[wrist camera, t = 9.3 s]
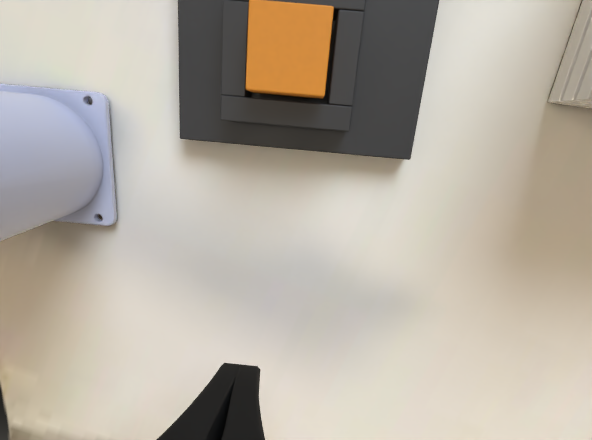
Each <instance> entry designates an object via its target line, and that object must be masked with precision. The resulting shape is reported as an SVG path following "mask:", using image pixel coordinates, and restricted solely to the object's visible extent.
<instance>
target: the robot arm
mask: <svg viewBox="0 0 592 440" xmlns="http://www.w3.org/2000/svg"><path fill="white" fill-rule="evenodd" d="M89 97H91V98H92V101H93V102H92V104H91V105H90V104H89V103H88V98H89ZM98 214H100V215H101V216H102V220H101V219H99V217H98ZM51 221H61V222H72V223H82V224H93V225H103V226H110V225H112V224H114V223H115V222H116V221H117V211H116V197H115V183H114V169H113V155H112V141H111V127H110V113H109V102H108V99H107V97H106V96H105V95H104V94H102V93H98V92H88V91H76V90H65V89H54V88H43V87H31V86H20V85H9V84H0V241H2V240H5V239H8V238H10V237H13V236H15V235H18V234H20V233H23V232H25V231H28V230H30V229H33V228H36V227H38V226H41V225H43V224H46V223H48V222H51ZM259 381H260V369H259V368H258V366H249V365H239V364H230V363H224V364H223V365H222V366H221V367H220V368H219V370H218V371H217V373H216V374H215V375H214V377H213V378H212V379H211V381H210V382H209V383H208V385H207V386H206V387H205V388H204V390H203V391H202V392H201V393H200V394H199V396H198V397H197V398H196V399H195V400H194V401H193V403H192V404H191V405H190V406H189V407H188V408H187V409H186V410H185V412H184V413H183V414H182V415H181V416H180V417H179V418H178V419H177V420H176V421H175V422H174V423H173V424H172V425H171V426H170V427H169V428H168V429H167V430H166V431H165V432H164V433H163V434H162V435H161V436H160V437H159V438H158V439H157V440H265V437H264V432H263V427H262V421H261V414H260V406H259Z"/></svg>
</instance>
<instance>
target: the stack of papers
mask: <svg viewBox="0 0 592 440" xmlns="http://www.w3.org/2000/svg"><path fill="white" fill-rule="evenodd" d="M548 102H551V103H558V104H564V105H571V106H578V107H584V108H591V109H592V0H583V1H582V4H581V7H580V10H579V12H578V15H577V18H576V21H575V24H574V27H573V30H572V33H571V36H570V39H569V42H568V45H567V47H566V50H565V53H564V56H563V59H562V62H561V65H560V68H559V71H558V74H557V77H556V80H555V83H554V85H553V88H552V91H551V94H550V97H549V100H548Z"/></svg>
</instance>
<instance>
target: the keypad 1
mask: <svg viewBox="0 0 592 440" xmlns="http://www.w3.org/2000/svg"><path fill="white" fill-rule="evenodd" d="M267 1H279V2H291V3H303V4H315V5H327V6H333V7H334V12H333V21H332V31H331V40H330V50H329V60H328V69H327V79H326V89H325V96H324V98H323V99H319V98H308V97H297V96H285V95H274V94H263V93H253V92H250V91H248V90H246V62H247V37H248V11H249V0H178V28H179V99H180V138H181V139H189V140H200V141H211V142H222V143H233V144H244V145H255V146H266V147H277V148H288V149H299V150H310V151H321V152H332V153H342V154H353V155H364V156H375V157H386V158H397V159H408V160H409V159H410V158H411V152H412V147H413V141H414V136H415V130H416V125H417V119H418V114H419V108H420V103H421V97H422V92H423V86H424V81H425V75H426V70H427V64H428V59H429V53H430V48H431V43H432V37H433V32H434V26H435V21H436V15H437V10H438V4H439V0H267Z"/></svg>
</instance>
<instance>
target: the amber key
mask: <svg viewBox="0 0 592 440" xmlns="http://www.w3.org/2000/svg"><path fill="white" fill-rule="evenodd" d="M333 12H334V7H333V6H327V5H315V4H303V3H291V2H279V1H267V0H249V11H248V37H247V62H246V90H248V91H250V92H253V93H263V94H274V95H285V96H297V97H308V98H319V99H323V98H324V96H325V89H326V79H327V69H328V60H329V50H330V40H331V31H332V21H333Z"/></svg>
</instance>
